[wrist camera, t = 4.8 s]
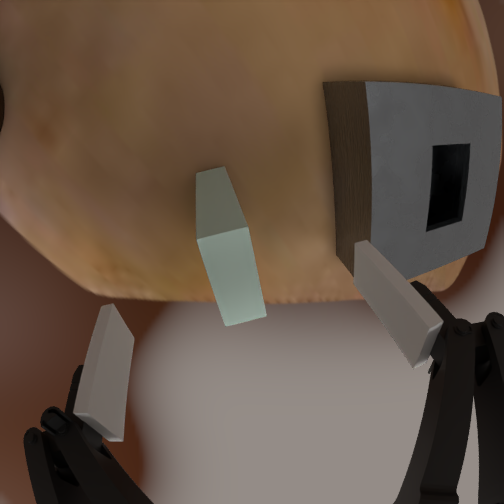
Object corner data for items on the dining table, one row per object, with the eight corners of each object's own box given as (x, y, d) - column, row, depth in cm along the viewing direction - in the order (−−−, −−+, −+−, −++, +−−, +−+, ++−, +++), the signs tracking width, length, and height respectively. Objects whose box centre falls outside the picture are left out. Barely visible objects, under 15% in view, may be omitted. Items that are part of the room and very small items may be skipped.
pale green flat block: (212, 233, 27) (225, 326, 16) (195, 173, 23) (196, 239, 13) (238, 227, 27) (266, 316, 17) (224, 166, 24) (248, 226, 13)
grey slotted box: (336, 254, 30) (366, 294, 25) (322, 82, 21) (365, 81, 15) (449, 222, 32) (483, 247, 26) (456, 87, 22) (501, 96, 16)
